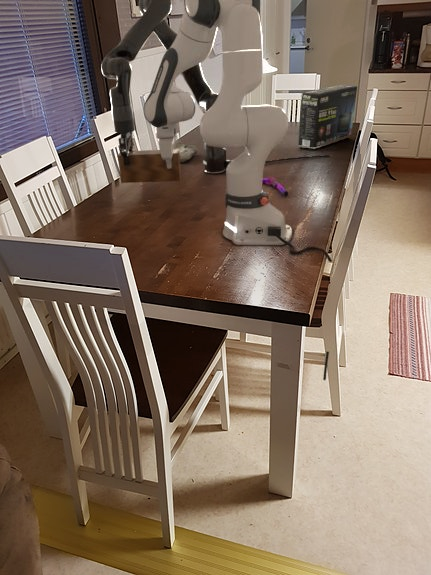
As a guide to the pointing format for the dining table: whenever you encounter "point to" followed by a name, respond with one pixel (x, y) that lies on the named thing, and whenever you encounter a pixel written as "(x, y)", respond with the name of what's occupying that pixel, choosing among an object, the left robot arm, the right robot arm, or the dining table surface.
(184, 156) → the fossil
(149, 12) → the left robot arm
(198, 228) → the dining table surface
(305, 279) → the dining table surface
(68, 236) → the dining table surface
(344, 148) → the dining table surface
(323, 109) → the router box
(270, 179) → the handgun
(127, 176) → the box
